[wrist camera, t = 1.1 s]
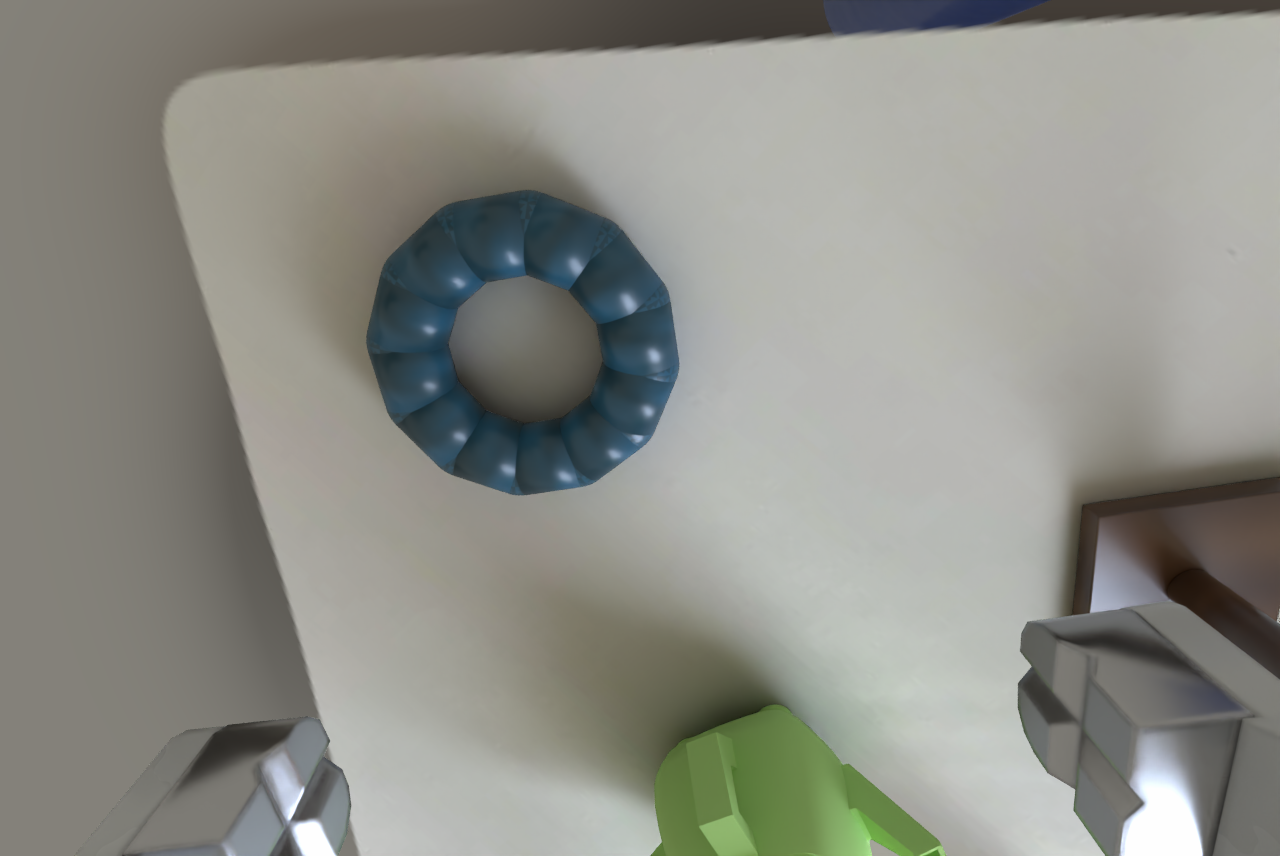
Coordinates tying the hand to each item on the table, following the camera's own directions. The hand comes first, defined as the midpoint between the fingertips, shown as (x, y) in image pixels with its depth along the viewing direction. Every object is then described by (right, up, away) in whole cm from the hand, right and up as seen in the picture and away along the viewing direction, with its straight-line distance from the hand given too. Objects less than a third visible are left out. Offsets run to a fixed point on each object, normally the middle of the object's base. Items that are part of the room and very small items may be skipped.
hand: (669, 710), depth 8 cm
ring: (-5, +6, +19) cm, 20 cm away
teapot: (+6, -15, +29) cm, 33 cm away
